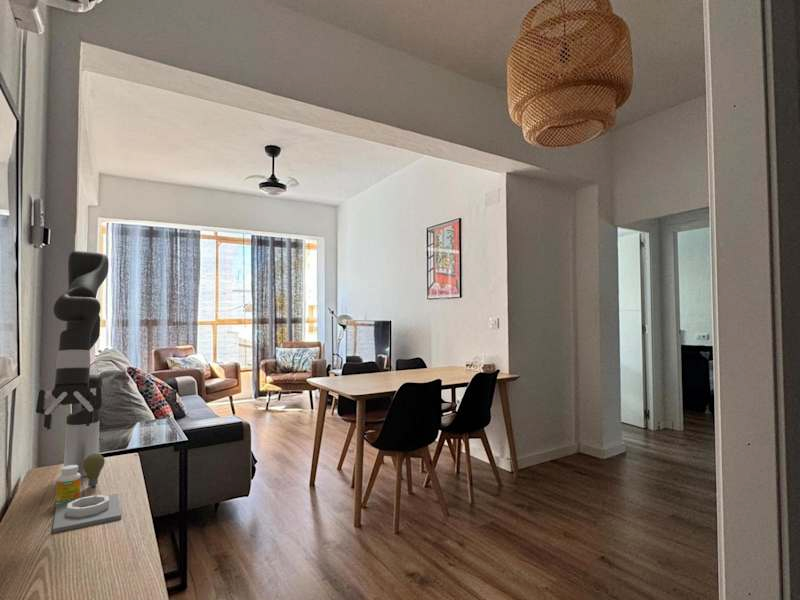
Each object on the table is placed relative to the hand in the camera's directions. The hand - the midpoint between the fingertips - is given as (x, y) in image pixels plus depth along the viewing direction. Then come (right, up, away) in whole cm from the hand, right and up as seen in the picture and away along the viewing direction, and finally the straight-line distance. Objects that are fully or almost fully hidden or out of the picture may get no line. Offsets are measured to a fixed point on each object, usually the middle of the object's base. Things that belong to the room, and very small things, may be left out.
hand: (68, 427), depth 118 cm
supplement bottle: (-5, -23, +6) cm, 24 cm away
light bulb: (-6, -24, +18) cm, 30 cm away
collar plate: (+7, -22, -2) cm, 23 cm away
